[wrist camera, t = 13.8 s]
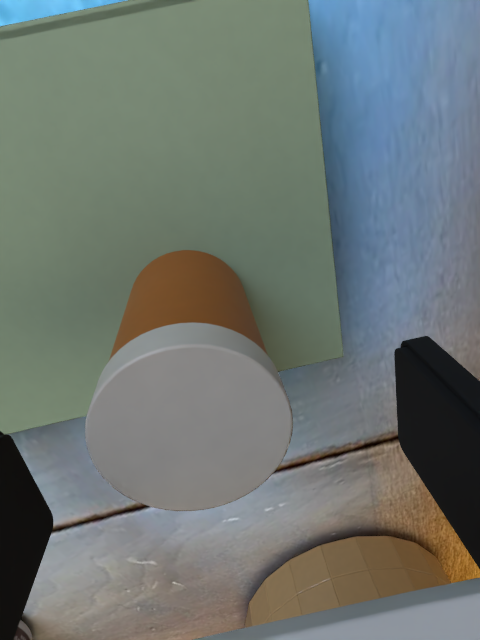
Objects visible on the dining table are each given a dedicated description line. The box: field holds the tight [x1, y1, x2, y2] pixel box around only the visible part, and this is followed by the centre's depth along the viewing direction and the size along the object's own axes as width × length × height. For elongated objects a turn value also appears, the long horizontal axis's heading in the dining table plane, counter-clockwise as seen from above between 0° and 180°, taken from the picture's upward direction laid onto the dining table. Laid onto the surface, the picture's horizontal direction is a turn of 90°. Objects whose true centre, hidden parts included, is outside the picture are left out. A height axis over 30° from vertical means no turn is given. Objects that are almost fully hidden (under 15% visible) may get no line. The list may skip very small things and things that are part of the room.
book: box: [0, 0, 344, 435], centre depth 17 cm, size 20×14×2 cm
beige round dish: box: [245, 536, 451, 628], centre depth 28 cm, size 14×14×5 cm
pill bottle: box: [85, 250, 293, 511], centre depth 14 cm, size 5×5×8 cm
